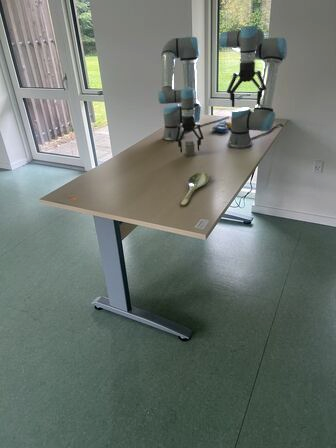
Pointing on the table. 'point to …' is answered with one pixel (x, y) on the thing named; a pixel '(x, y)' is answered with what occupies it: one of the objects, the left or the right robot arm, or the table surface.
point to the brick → (190, 148)
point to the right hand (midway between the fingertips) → (245, 105)
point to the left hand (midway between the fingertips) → (189, 150)
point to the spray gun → (222, 126)
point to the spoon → (195, 184)
